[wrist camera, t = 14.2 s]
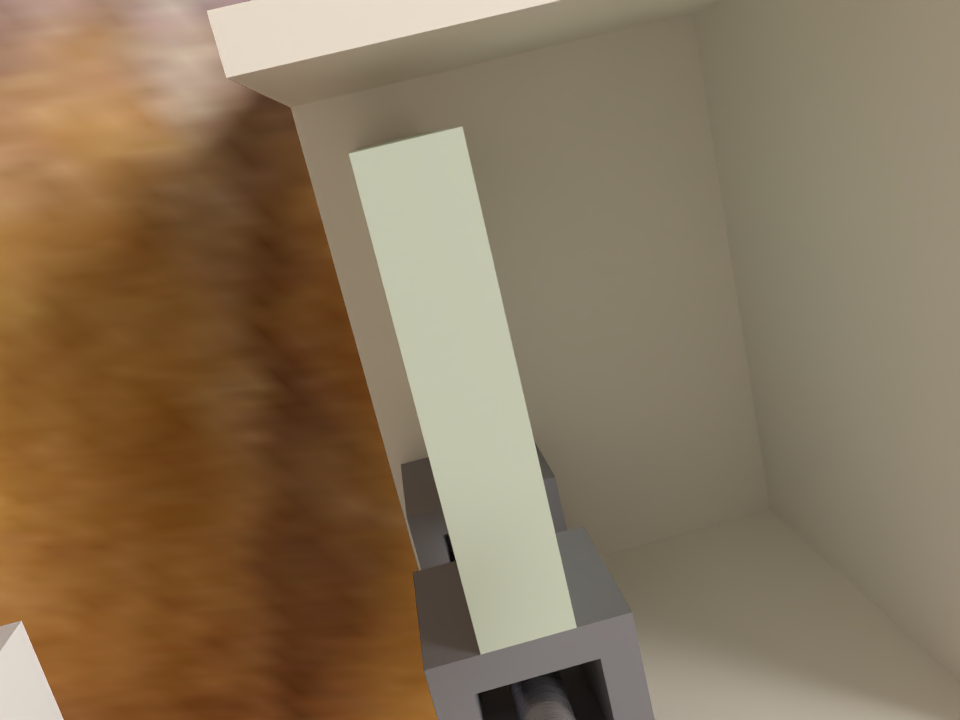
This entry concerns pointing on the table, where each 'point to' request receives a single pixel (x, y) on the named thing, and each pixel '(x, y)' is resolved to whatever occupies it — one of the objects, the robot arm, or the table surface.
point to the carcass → (692, 305)
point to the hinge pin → (541, 698)
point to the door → (484, 464)
